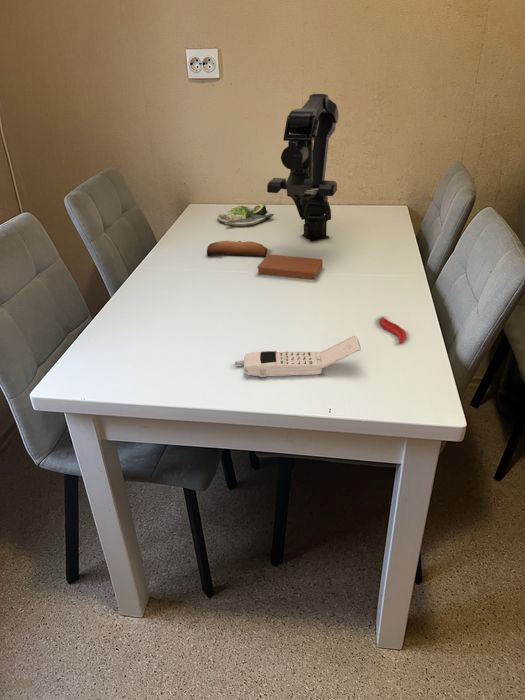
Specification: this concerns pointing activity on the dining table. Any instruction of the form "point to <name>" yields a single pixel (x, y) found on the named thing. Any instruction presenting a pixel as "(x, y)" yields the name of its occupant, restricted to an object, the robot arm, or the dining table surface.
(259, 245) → the sunglasses case
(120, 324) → the dining table surface
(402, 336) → the cayenne pepper
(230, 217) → the salad plate
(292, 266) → the cover
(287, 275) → the wooden box
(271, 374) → the mobile phone
